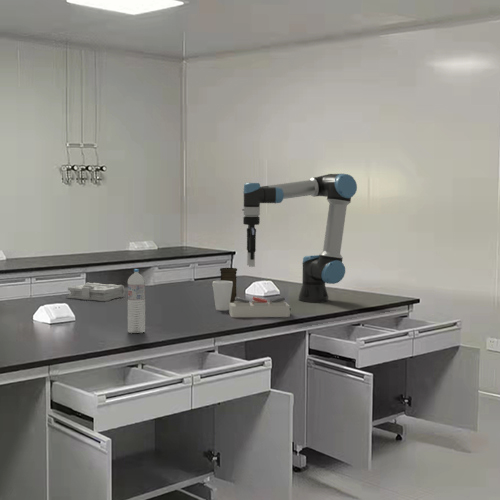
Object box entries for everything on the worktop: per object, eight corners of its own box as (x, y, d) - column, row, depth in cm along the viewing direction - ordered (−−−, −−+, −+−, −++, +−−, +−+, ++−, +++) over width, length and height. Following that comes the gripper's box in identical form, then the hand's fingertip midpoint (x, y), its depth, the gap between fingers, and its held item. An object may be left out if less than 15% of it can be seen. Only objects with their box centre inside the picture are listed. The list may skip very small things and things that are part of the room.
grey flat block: (82, 293, 406) (82, 279, 405) (126, 297, 394) (126, 282, 393) (59, 298, 389) (58, 284, 388) (103, 302, 377) (103, 287, 376)
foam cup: (235, 308, 360) (235, 281, 359) (228, 311, 352) (228, 283, 351) (216, 307, 364) (216, 280, 362) (209, 310, 355) (209, 282, 354)
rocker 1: (247, 302, 342) (248, 299, 342) (248, 303, 338) (249, 301, 338) (234, 299, 341) (235, 296, 341) (235, 300, 337) (236, 297, 337)
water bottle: (128, 330, 303) (128, 268, 301) (145, 330, 304) (145, 268, 302) (127, 334, 297) (126, 270, 294) (144, 334, 297) (144, 270, 295)
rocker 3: (283, 298, 344) (282, 296, 343) (285, 300, 340) (284, 297, 340) (270, 302, 343) (270, 299, 343) (272, 303, 339) (271, 301, 339)
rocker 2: (265, 302, 343) (266, 299, 343) (266, 303, 339) (267, 300, 339) (252, 298, 342) (253, 296, 342) (253, 300, 338) (254, 297, 338)
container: (235, 307, 365) (235, 269, 363) (217, 306, 367) (217, 269, 365) (239, 304, 374) (239, 267, 372) (221, 303, 375) (221, 267, 374)
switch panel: (288, 312, 350) (288, 299, 349) (292, 316, 340) (292, 302, 339) (229, 313, 346) (229, 299, 346) (231, 317, 336) (231, 303, 335)
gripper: (241, 215, 362) (240, 263, 364) (245, 216, 344) (245, 268, 346) (256, 215, 363) (256, 263, 365) (262, 217, 345) (261, 268, 347)
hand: (250, 265), depth 356 cm, fingers open, 5 cm apart
